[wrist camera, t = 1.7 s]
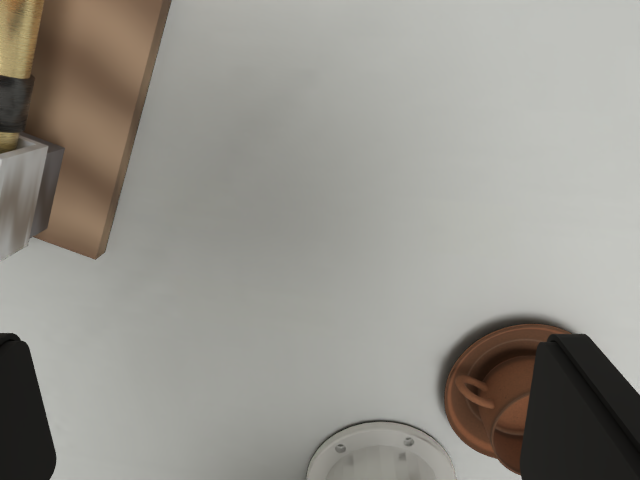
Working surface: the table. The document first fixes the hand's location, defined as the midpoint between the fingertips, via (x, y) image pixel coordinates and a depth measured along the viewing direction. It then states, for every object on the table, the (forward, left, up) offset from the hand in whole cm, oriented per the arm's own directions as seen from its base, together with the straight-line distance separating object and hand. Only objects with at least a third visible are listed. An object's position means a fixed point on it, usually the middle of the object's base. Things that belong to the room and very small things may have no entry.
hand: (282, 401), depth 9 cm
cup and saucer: (-11, -21, -27) cm, 36 cm away
